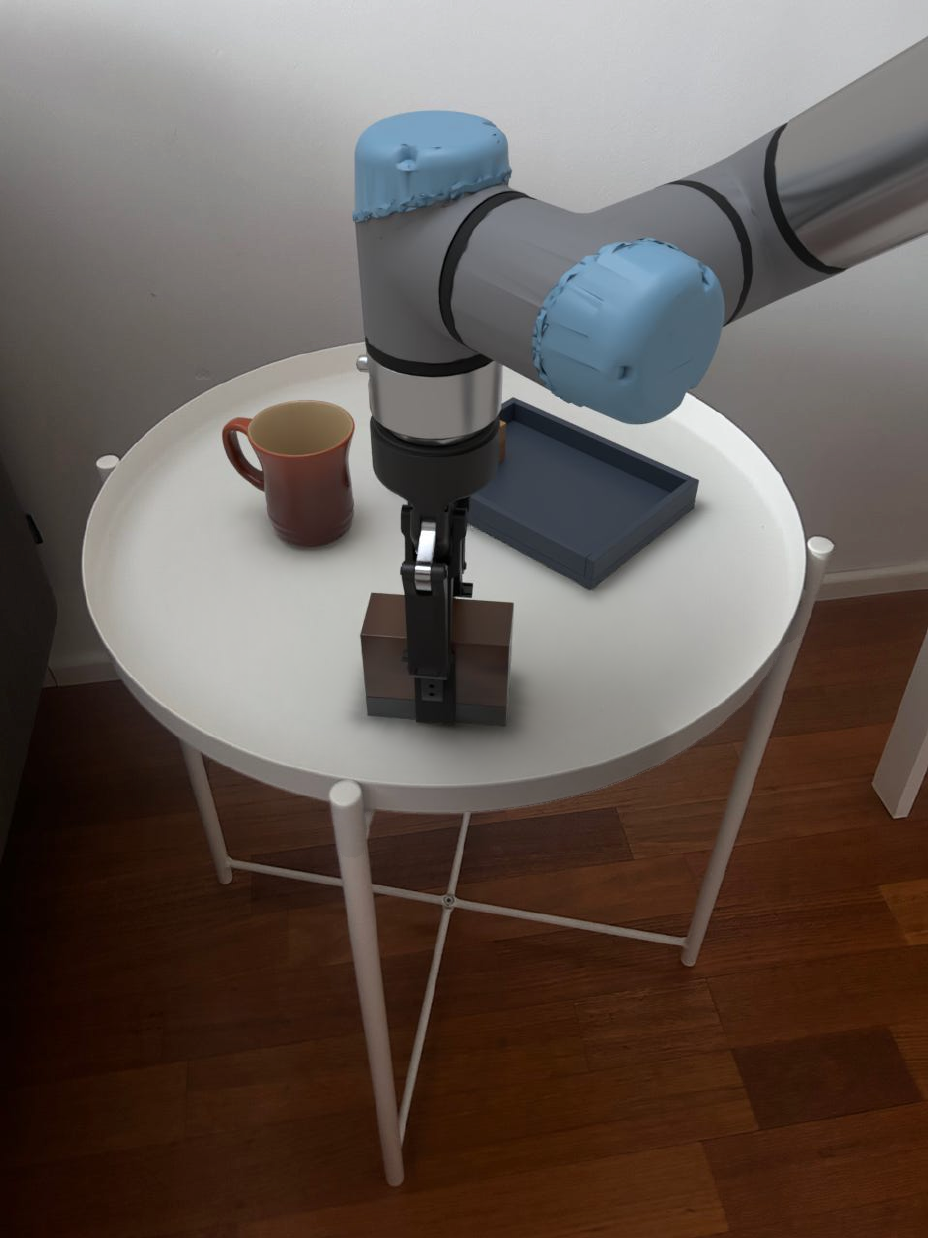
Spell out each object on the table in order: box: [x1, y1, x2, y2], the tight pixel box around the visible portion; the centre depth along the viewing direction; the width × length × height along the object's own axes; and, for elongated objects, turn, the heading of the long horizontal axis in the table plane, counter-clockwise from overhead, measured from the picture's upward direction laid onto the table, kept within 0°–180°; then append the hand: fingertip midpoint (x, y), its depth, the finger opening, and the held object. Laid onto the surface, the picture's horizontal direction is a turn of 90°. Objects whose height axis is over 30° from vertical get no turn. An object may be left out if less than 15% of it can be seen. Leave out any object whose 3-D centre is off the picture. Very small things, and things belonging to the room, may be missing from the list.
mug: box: [221, 399, 356, 548], centre depth 86 cm, size 12×9×10 cm
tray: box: [468, 396, 700, 591], centre depth 91 cm, size 22×16×3 cm
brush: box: [359, 592, 515, 727], centre depth 71 cm, size 10×4×8 cm, turn 84°
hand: (440, 693), depth 73 cm, fingers closed on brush, 4 cm apart
